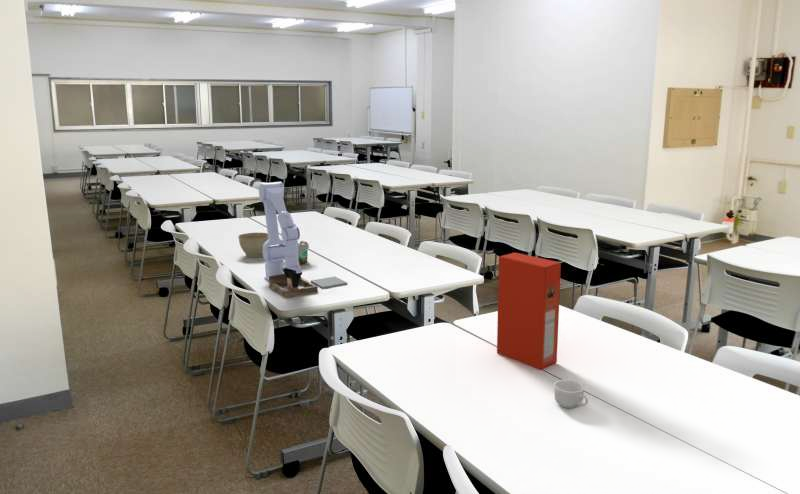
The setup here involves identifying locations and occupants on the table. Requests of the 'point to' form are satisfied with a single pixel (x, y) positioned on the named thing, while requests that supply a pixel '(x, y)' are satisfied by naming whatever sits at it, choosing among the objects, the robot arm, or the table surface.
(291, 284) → the clay pot
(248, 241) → the planter bowl
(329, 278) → the potting mat
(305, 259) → the food container
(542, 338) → the file binder
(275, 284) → the frame
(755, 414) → the table surface
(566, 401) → the teacup
